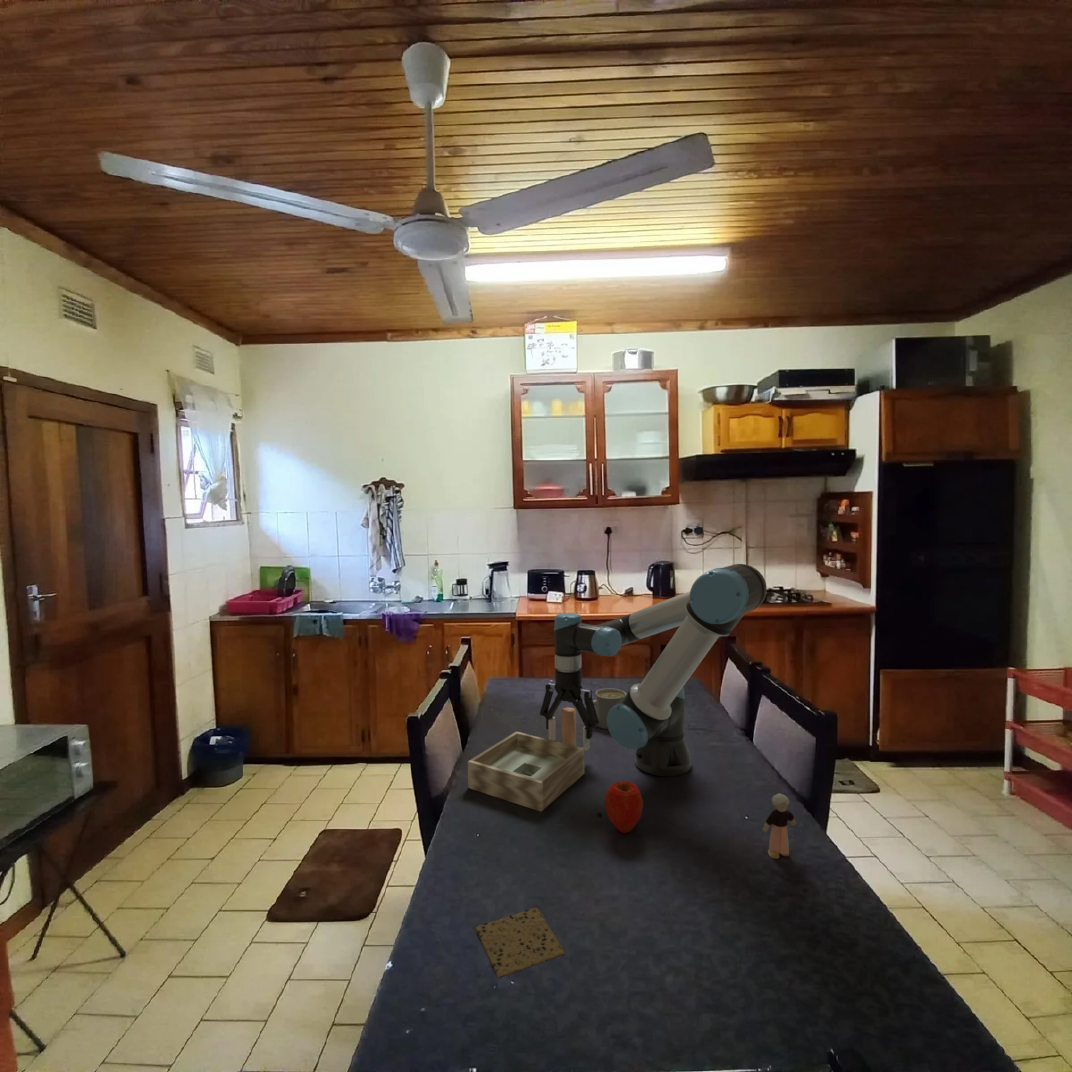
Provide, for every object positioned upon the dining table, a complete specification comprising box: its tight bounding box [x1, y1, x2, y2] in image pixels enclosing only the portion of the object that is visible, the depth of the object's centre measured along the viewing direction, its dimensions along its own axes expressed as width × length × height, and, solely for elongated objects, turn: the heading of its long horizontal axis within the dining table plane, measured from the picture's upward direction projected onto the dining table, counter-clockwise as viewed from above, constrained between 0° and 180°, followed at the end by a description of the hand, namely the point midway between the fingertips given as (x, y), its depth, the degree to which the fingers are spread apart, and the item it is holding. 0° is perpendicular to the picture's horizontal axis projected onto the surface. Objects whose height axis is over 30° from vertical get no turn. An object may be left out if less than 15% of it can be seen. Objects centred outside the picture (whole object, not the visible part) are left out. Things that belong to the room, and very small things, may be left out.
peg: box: [561, 707, 577, 746], centre depth 166 cm, size 4×4×14 cm
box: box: [467, 731, 585, 812], centre depth 154 cm, size 22×22×7 cm
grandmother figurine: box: [762, 792, 797, 859], centre depth 121 cm, size 8×4×13 cm, turn 117°
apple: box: [604, 781, 644, 834], centre depth 130 cm, size 9×8×11 cm
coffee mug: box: [586, 687, 627, 730], centre depth 191 cm, size 13×10×10 cm
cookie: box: [475, 907, 566, 979], centre depth 99 cm, size 12×12×1 cm
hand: (569, 744), depth 166 cm, fingers open, 10 cm apart
